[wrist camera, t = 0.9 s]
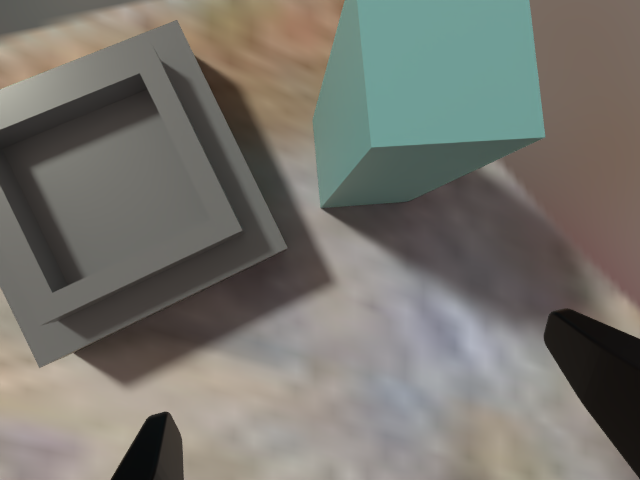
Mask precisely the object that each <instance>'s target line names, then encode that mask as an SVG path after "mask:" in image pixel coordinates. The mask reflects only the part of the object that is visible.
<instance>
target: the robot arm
mask: <svg viewBox="0 0 640 480" xmlns="http://www.w3.org/2000/svg"><path fill="white" fill-rule="evenodd" d="M544 341H545V344H546V346H547V348H548V350H549V351H550V353H551V354H552V356H553V358H554V359H555V361H556V362H557V364H558V366H559V367H560V369H561V371H562V372H563V374H564V375H565V377H566V379H567V380H568V382H569V383H570V385H571V387H572V388H573V390H574V391H575V393H576V395H577V396H578V398H579V399H580V401H581V402H582V403H583V405H584V406H585V408H586V409H587V410H588V412H589V413H590V414H591V416H592V417H593V418H594V420H595V421H596V422H597V424H598V425H599V426H600V427H601V429H602V430H603V431H604V433H605V434H606V435H607V437H608V438H609V439H610V441H611V442H612V443H613V445H614V446H615V447H616V448H617V450H618V451H619V452H620V454H621V455H622V456H623V458H624V459H625V460H626V462H627V463H628V464H629V466H630V467H631V468H632V469H633V471H634V472H635V473H636V475H637V476H638V477H639V479H640V339H639V338H636V337H634V336H632V335H629V334H627V333H625V332H622V331H620V330H618V329H615V328H613V327H611V326H608V325H606V324H604V323H601V322H599V321H597V320H595V319H592V318H590V317H588V316H585V315H583V314H581V313H578V312H576V311H574V310H571V309H561V310H557V311H553V312H551V313H550V314H549V316H548V320H547V324H546V328H545V332H544ZM111 480H184V474H183V449H182V438H181V434H180V432H179V430H178V428H177V426H176V424H175V422H174V420H173V418H172V416H171V414H170V413H169V412H162V413H158V414H154V415H151V416H149V417H148V418H147V419H146V421H145V423H144V424H143V426H142V428H141V429H140V431H139V433H138V434H137V436H136V438H135V439H134V441H133V443H132V444H131V446H130V448H129V449H128V451H127V453H126V454H125V456H124V458H123V460H122V461H121V463H120V465H119V466H118V468H117V470H116V471H115V473H114V475H113V476H112V478H111Z"/></svg>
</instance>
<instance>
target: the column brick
mask: <svg viewBox="0 0 640 480" xmlns="http://www.w3.org/2000/svg"><path fill="white" fill-rule="evenodd" d="M313 129H314V140H315V151H316V162H317V173H318V185H319V196H320V207H321V208H330V207H343V206H357V205H370V204H384V203H397V202H408V201H410V200H413V199H415V198H417V197H419V196H421V195H423V194H425V193H427V192H430V191H432V190H434V189H436V188H438V187H440V186H442V185H445V184H447V183H449V182H451V181H453V180H455V179H457V178H459V177H462V176H464V175H466V174H468V173H470V172H472V171H474V170H477V169H479V168H481V167H483V166H485V165H487V164H489V163H491V162H494V161H496V160H498V159H500V158H502V157H504V156H506V155H508V154H511V153H513V152H515V151H517V150H519V149H521V148H523V147H526V146H528V145H530V144H532V143H534V142H536V141H538V140H540V139H543V138H545V130H544V123H543V113H542V105H541V97H540V88H539V79H538V71H537V64H536V54H535V45H534V37H533V29H532V21H531V12H530V3H529V0H345V1H344V5H343V9H342V13H341V16H340V20H339V24H338V27H337V31H336V35H335V39H334V42H333V46H332V50H331V53H330V57H329V61H328V65H327V68H326V72H325V76H324V79H323V83H322V87H321V91H320V94H319V98H318V102H317V105H316V109H315V113H314V117H313Z"/></svg>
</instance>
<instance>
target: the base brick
mask: <svg viewBox="0 0 640 480" xmlns="http://www.w3.org/2000/svg"><path fill="white" fill-rule="evenodd" d="M287 248H288V247H287V245H286V243H285V241H284V239H283V237H282V235H281V233H280V231H279V229H278V227H277V225H276V223H275V221H274V219H273V217H272V214H271V212H270V210H269V208H268V206H267V204H266V202H265V200H264V198H263V196H262V194H261V192H260V190H259V188H258V186H257V184H256V182H255V180H254V177H253V175H252V173H251V171H250V169H249V167H248V165H247V163H246V161H245V159H244V157H243V155H242V153H241V151H240V149H239V147H238V145H237V143H236V140H235V138H234V136H233V134H232V132H231V130H230V128H229V126H228V124H227V122H226V120H225V118H224V116H223V114H222V112H221V110H220V108H219V106H218V103H217V101H216V99H215V97H214V95H213V93H212V91H211V89H210V87H209V85H208V83H207V81H206V79H205V77H204V75H203V73H202V71H201V69H200V66H199V64H198V62H197V60H196V58H195V56H194V54H193V52H192V50H191V48H190V46H189V44H188V42H187V40H186V38H185V36H184V34H183V32H182V29H181V27H180V25H179V23H178V21H177V20H176V21H173V22H171V23H168V24H165V25H163V26H160V27H158V28H155V29H153V30H150V31H148V32H145V33H143V34H140V35H137V36H135V37H132V38H130V39H127V40H125V41H122V42H120V43H117V44H114V45H112V46H109V47H107V48H104V49H102V50H99V51H97V52H94V53H92V54H89V55H86V56H84V57H81V58H79V59H76V60H74V61H71V62H69V63H66V64H64V65H61V66H58V67H56V68H53V69H51V70H48V71H46V72H43V73H41V74H38V75H36V76H33V77H30V78H28V79H25V80H23V81H20V82H18V83H15V84H13V85H10V86H8V87H5V88H2V89H0V287H1V289H2V291H3V293H4V295H5V297H6V299H7V301H8V304H9V306H10V308H11V310H12V312H13V314H14V316H15V318H16V320H17V322H18V324H19V326H20V328H21V330H22V333H23V335H24V337H25V339H26V341H27V343H28V345H29V347H30V349H31V351H32V353H33V355H34V357H35V359H36V362H37V364H38V366H39V368H40V367H43V366H45V365H47V364H49V363H52V362H54V361H56V360H58V359H61V358H63V357H65V356H67V355H70V354H72V353H74V352H76V351H78V350H80V349H82V348H84V347H87V346H89V345H91V344H93V343H95V342H97V341H99V340H101V339H103V338H105V337H107V336H109V335H111V334H113V333H115V332H118V331H120V330H122V329H124V328H126V327H128V326H130V325H132V324H134V323H136V322H138V321H140V320H142V319H144V318H146V317H149V316H151V315H153V314H155V313H157V312H159V311H161V310H163V309H165V308H167V307H169V306H171V305H173V304H175V303H177V302H180V301H182V300H184V299H186V298H188V297H190V296H192V295H194V294H196V293H198V292H200V291H202V290H204V289H206V288H208V287H211V286H213V285H215V284H217V283H219V282H221V281H223V280H225V279H227V278H229V277H231V276H233V275H235V274H237V273H239V272H242V271H244V270H246V269H248V268H250V267H252V266H254V265H256V264H258V263H260V262H262V261H264V260H266V259H268V258H270V257H272V256H275V255H277V254H279V253H281V252H283V251H285V250H286V249H287Z"/></svg>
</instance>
